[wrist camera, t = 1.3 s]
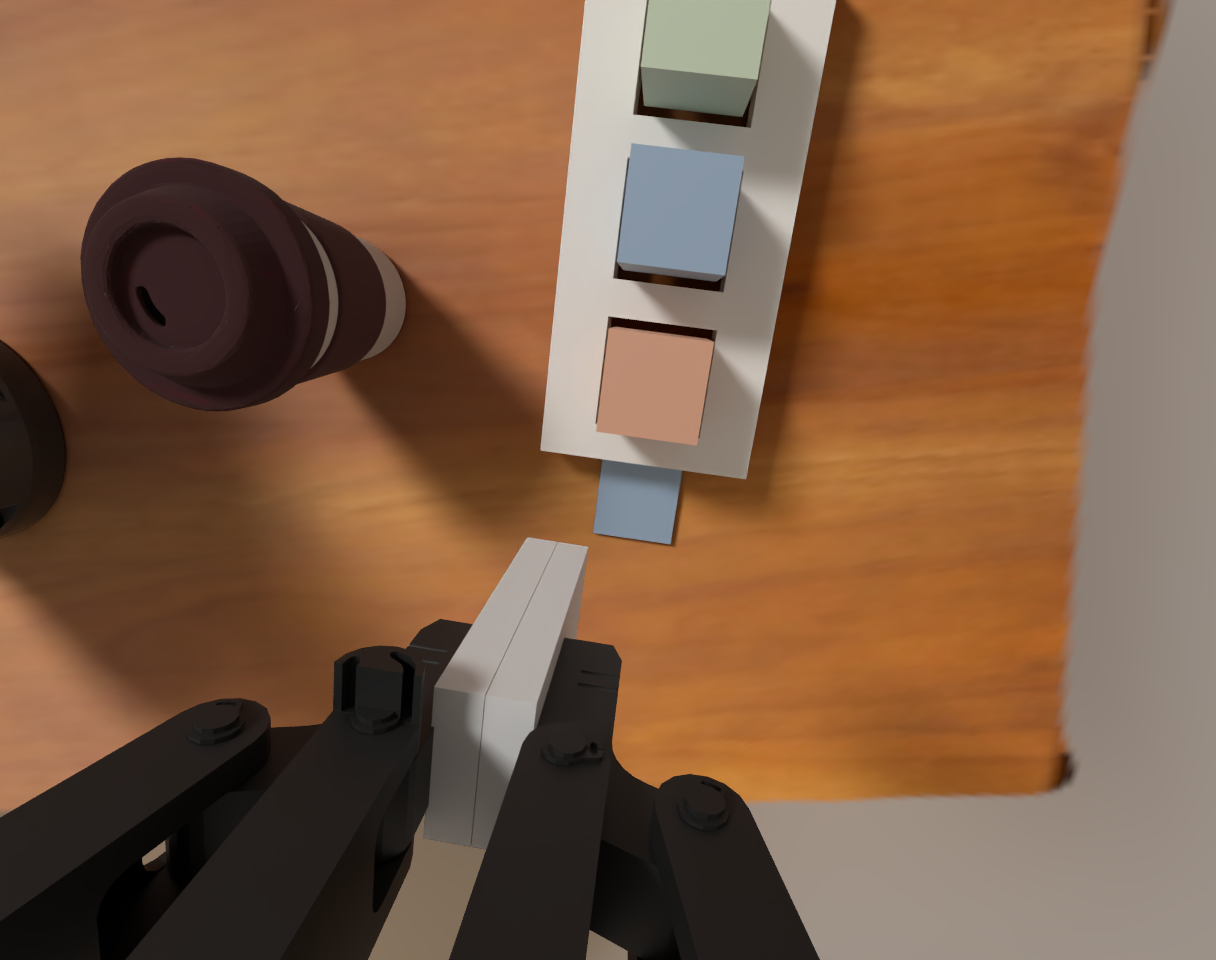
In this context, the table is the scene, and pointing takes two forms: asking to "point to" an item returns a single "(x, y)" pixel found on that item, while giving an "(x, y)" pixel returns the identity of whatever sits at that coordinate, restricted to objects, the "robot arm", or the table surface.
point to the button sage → (703, 54)
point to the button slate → (679, 212)
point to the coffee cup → (229, 286)
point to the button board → (731, 313)
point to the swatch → (637, 501)
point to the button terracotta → (654, 385)
